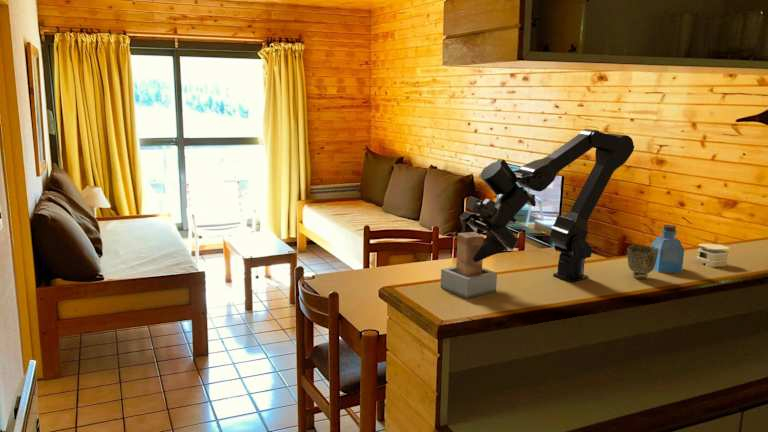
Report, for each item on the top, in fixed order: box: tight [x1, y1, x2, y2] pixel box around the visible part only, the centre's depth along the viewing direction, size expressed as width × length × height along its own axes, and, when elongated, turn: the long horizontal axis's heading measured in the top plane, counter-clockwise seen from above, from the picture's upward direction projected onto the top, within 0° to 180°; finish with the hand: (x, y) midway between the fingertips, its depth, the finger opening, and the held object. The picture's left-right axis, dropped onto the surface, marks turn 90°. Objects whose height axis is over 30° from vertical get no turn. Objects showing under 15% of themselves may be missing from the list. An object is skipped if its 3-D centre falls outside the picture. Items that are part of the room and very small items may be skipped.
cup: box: [626, 244, 659, 280], centre depth 161 cm, size 8×7×8 cm
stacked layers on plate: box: [696, 243, 731, 268], centre depth 175 cm, size 10×9×6 cm
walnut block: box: [456, 232, 485, 277], centre depth 150 cm, size 4×4×13 cm
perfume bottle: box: [650, 224, 685, 274], centre depth 169 cm, size 6×6×12 cm
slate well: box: [440, 266, 498, 300], centre depth 151 cm, size 9×9×5 cm
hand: (464, 255), depth 149 cm, fingers open, 9 cm apart
